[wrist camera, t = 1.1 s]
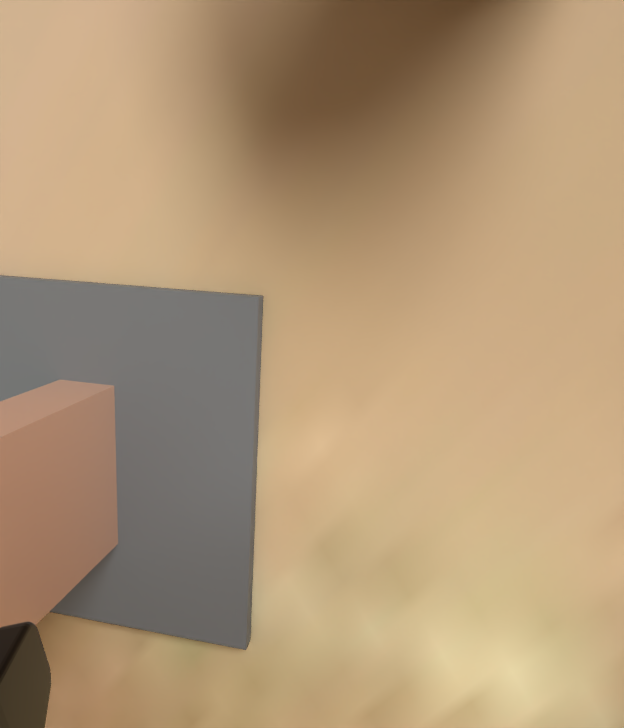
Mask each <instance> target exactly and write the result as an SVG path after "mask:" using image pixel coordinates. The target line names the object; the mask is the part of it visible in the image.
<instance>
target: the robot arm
mask: <svg viewBox="0 0 624 728" xmlns="http://www.w3.org/2000/svg"><path fill="white" fill-rule="evenodd" d="M50 687H51V673H50V667H49V664H48V661H47V658H46V654H45V651H44V648H43V645H42V642H41V638H40V635H39V632H38V629H37V627H36V626H35V624H34V623H32V622H22V623H17V624H12V625H7V626H3V627H0V728H45V721H46V714H47V708H48V701H49V694H50Z"/></svg>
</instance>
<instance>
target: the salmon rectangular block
mask: <svg viewBox="0 0 624 728" xmlns="http://www.w3.org/2000/svg"><path fill="white" fill-rule="evenodd" d="M117 544H118V519H117V478H116V437H115V396H114V386H113V385H104V384H95V383H86V382H77V381H69V380H57V381H55V382H52V383H49V384H47V385H44V386H41V387H38V388H36V389H33V390H30V391H27V392H25V393H22V394H19V395H17V396H14V397H11V398H8V399H6V400H3V401H0V627H3V626H7V625H12V624H17V623H22V622H32V623H34V624H35V625H36V624H37V623H38V622H39V621H40V620H41V619H42V618H43V617H44V616H45V615H47V614H48V613H49V612H50V611H51V610H52V609H53V608H54V607H55V606H56V605H57V604H58V603H59V602H60V601H61V600H62V599H63V598H64V597H65V596H66V595H67V594H68V593H69V592H70V591H71V590H72V589H73V588H74V587H75V586H76V585H77V584H78V583H79V582H80V581H81V580H82V579H83V578H84V577H85V576H86V575H87V574H88V573H89V572H90V571H91V570H92V569H93V568H94V567H95V566H96V565H97V564H98V563H99V562H100V561H101V560H102V559H103V558H104V557H105V556H106V555H107V554H108V553H109V552H110V551H111V550H112V549H113V548H114V547H115V546H116V545H117Z"/></svg>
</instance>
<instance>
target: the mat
mask: <svg viewBox="0 0 624 728" xmlns="http://www.w3.org/2000/svg"><path fill="white" fill-rule="evenodd" d="M262 314H263V296H259V295H247V294H234V293H221V292H208V291H195V290H182V289H169V288H156V287H144V286H131V285H118V284H105V283H92V282H79V281H66V280H53V279H41V278H28V277H15V276H2V275H0V401H3V400H6V399H8V398H11V397H14V396H17V395H19V394H22V393H25V392H27V391H30V390H33V389H36V388H38V387H41V386H44V385H47V384H49V383H52V382H55V381H57V380H69V381H77V382H86V383H95V384H104V385H113V386H114V396H115V437H116V478H117V519H118V544H117V545H116V546H115V547H114V548H113V549H112V550H111V551H110V552H109V553H108V554H107V555H106V556H105V557H104V558H103V559H102V560H101V561H100V562H99V563H98V564H97V565H96V566H95V567H94V568H93V569H92V570H91V571H90V572H89V573H88V574H87V575H86V576H85V577H84V578H83V579H82V580H81V581H80V582H79V583H78V584H77V585H76V586H75V587H74V588H73V589H72V590H71V591H70V592H69V593H68V594H67V595H66V596H65V597H64V598H63V599H62V600H61V601H60V602H59V603H58V604H57V605H56V606H55V607H54V608H53V609H52V610H51V611H50V612H53V613H59V614H64V615H69V616H74V617H79V618H84V619H89V620H95V621H100V622H105V623H110V624H115V625H120V626H125V627H131V628H136V629H141V630H146V631H151V632H156V633H161V634H167V635H172V636H177V637H182V638H187V639H192V640H197V641H203V642H208V643H213V644H218V645H223V646H228V647H233V648H239V649H244V650H246V649H247V647H248V644H249V642H250V633H251V607H252V580H253V554H254V527H255V500H256V474H257V447H258V421H259V394H260V367H261V341H262Z"/></svg>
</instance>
